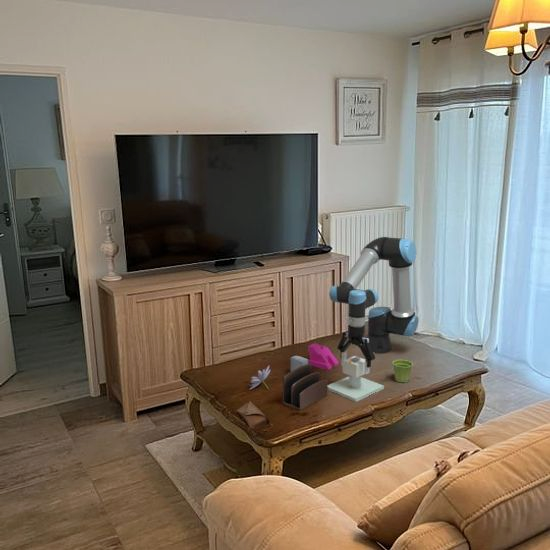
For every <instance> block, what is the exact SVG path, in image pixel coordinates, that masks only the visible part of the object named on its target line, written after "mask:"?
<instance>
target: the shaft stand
mask: <svg viewBox="0 0 550 550" xmlns="http://www.w3.org/2000/svg"><path fill="white" fill-rule="evenodd" d="M360 358H361V357H359V356H356V357H355V358H353V359H351V361H353V362H357V361H359V360H360ZM327 388H328V390H329V392H331V393H333V392H334V393H333V394H336V393H337V394H336V395H338V394H339V395H338V396H340V395H341V396H340V397H343V398H345V397H346V399H347V398H348V400H350V401H353V402H355V403H356V402H358V401H361V400H363V399H366V398H367V397H369V395H370V396H371V394H372V395H374V394H376V393H378V392H380V391H382V390H384V389H385V385H383V384H380V383H378V382H376V381H373V380H370V379H368V378H365V377H362V376H359V377H357V378H356V377H353V376H350V375H348V376H347V377H346V376H345V377H343V378H342V379H340V380H337V381H334V382H332V383H329V384H327ZM375 392H376V393H375ZM373 393H374V394H373Z"/></svg>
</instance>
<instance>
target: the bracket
mask: <svg viewBox="0 0 550 550" xmlns="http://www.w3.org/2000/svg"><path fill="white" fill-rule="evenodd" d="M307 350H308V351H307V352H308V353H309V359H308V364H312V367H314V368H319V369H322V370H327V371H330V370H331V369H333V366H334V365H335V367H337V366H338V365H339V364H340V362H339V361H338V359H337V358H336V357H335V355H334V354H333V353H332V351H331V350H330V348H329V347H328V346H325V345H319V344H318V343H312V344H310V345H308V349H307ZM337 364H338V365H337Z"/></svg>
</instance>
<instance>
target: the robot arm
mask: <svg viewBox="0 0 550 550" xmlns="http://www.w3.org/2000/svg"><path fill="white" fill-rule="evenodd" d="M360 251H361V252H360V256H359V258H358V259H357V260H356V262H355V263H354V264H353V266H352V267H351V268H350V269H349V272H348V273H347V274H346V275H345V277H344V278H343V280H342V281H341V282H340V284H339V285H333V286H331V287H330V289H329V294H328V295H329V299H330V301H332V302H335V303H340V304H347V305H348V307H347V308H348V314H347V317H348V318H347V324H348V325H347V330H346V331H344V332H342V337H341V339H340V341H339V343H338V345H337V347H336V349H337V350H339V352H340V360H341V364H340V365H341V367H343V360H345V359H347V358H348V357H347V355H348V353H347V352H348V351H347V349H348V348H349V347H350V346H351V345H354V346H356V347H358V348H359V349H360V351H361V353H362V354H363V355H362V356H364V359H365V370H364V375H368V374H370V369H371V367H372V361H374V360H376V356H375V354H386V352H387V353H390V352H392V351H393V344H392V341H391V337H390V334H392V335H398V336H403V337H413V336H414V335H415V334H416V331H417V329H418V326H419V317H418V315H416V314H415V310H414V309H413V308H412V301H411V300H412V299H411V279H410V277H411V276H410V273H411V271H410V267H411V266H413V264H414V262H416V258H417V246H416V244H415V242H414V241H413V240H412V239H410V238H409V239H407V238H398V237H389V236H388V237H387V236H382V237H381V236H380V237H378V238H375V239H373V240H372V241H370V242H368V243H367V244H366V245H365V246H364V247H363V248H362V250H360ZM380 260H381V261H382V260H383V261H388V266H389V267H390V268H391V271H392V291H393V293H392V294H393V309H392V308H391V307H389V306H376V307H372V306H374V305H375V304H377V303H378V301H379V294H378V292H377V291H376V290H375V289H373V288H368V289H365V290H364V289H357V288H358V287H359V285H360V284H361V283H362V281H363V280H364V278H365V277H366V275H367V274H368V273H369V271H370V270H371V268H372V267H373V265H375V264H377V263H378V262H379V261H380ZM371 307H372V308H371ZM368 308H370V309H369V310H368V316H367V319H368V321H367V323H368V324H367V336H366V337H365V333H366V331H365V329H366V328H365V327H366V309H368ZM391 309H392V310H391ZM347 339H348V340H347ZM391 350H392V351H391ZM373 352H375V353H373Z"/></svg>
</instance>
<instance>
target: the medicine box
mask: <svg viewBox="0 0 550 550" xmlns="http://www.w3.org/2000/svg"><path fill="white" fill-rule="evenodd" d="M308 360H309V359H308V358H305V357H303V356H300V355H293V356H292V357H290V372H291V371H293V370H295V369H297V368H299V367H301V366H303V365H306V364H308Z"/></svg>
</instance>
